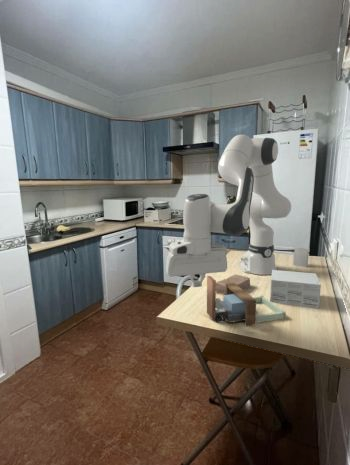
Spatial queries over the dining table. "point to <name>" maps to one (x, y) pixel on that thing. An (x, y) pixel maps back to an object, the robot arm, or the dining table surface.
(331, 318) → the dining table surface
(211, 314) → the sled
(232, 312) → the block
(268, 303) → the green hollow frame
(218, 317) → the dark grey flat block
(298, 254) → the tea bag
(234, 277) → the brick
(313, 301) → the supplement box
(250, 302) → the tunnel
